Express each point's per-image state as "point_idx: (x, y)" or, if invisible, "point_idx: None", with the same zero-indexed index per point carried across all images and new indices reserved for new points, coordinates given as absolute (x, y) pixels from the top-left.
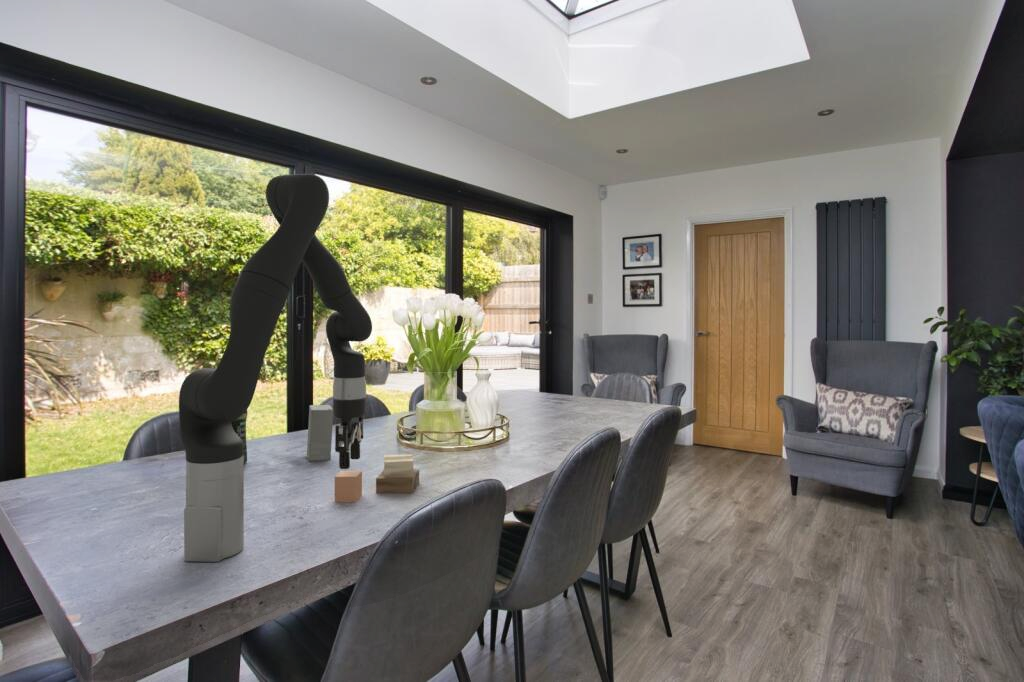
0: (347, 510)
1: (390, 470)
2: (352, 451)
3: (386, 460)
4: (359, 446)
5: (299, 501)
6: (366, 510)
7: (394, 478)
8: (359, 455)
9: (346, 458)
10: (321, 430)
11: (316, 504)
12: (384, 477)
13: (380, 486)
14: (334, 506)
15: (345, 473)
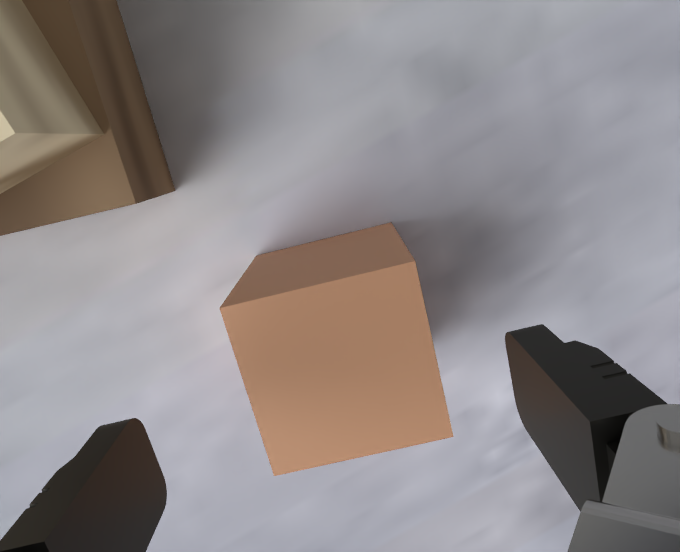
0: (552, 191)
1: (32, 76)
2: (131, 541)
3: None
4: (54, 516)
5: (463, 523)
6: (529, 68)
7: (73, 36)
8: (114, 435)
9: (631, 389)
10: None
11: (489, 417)
12: (100, 133)
13: (149, 160)
14: (499, 305)
15: (340, 403)
